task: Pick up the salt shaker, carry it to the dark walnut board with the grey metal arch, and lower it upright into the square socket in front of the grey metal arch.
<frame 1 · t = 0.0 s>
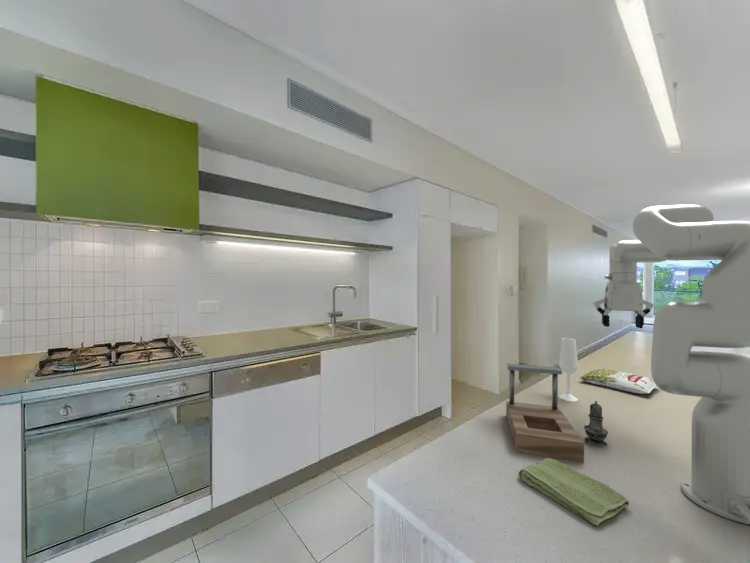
hand: (622, 327, 108), 31 cm above the worktop, tool pointing down, fingers open, 9 cm apart
champagne flute: (568, 398, 124), on the worktop
socket board: (539, 435, 93), on the worktop
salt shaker: (595, 442, 89), on the worktop
grey metal arch: (533, 386, 102), on the socket board, point 12 cm above the worktop
frozen beans: (618, 386, 140), on the worktop
washcloth: (570, 494, 68), on the worktop
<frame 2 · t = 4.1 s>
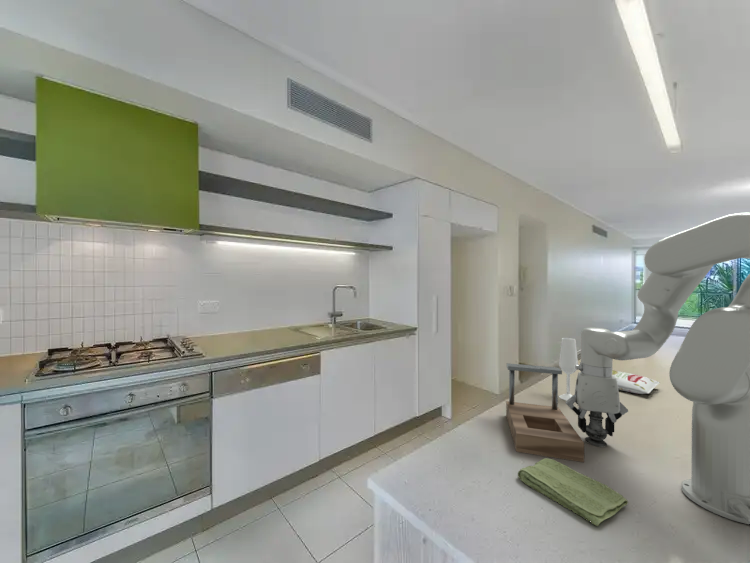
hand: (595, 431, 89), 3 cm above the worktop, tool pointing down, fingers closed on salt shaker, 5 cm apart
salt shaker: (595, 442, 89), on the worktop, touching gripper
everything else where it was.
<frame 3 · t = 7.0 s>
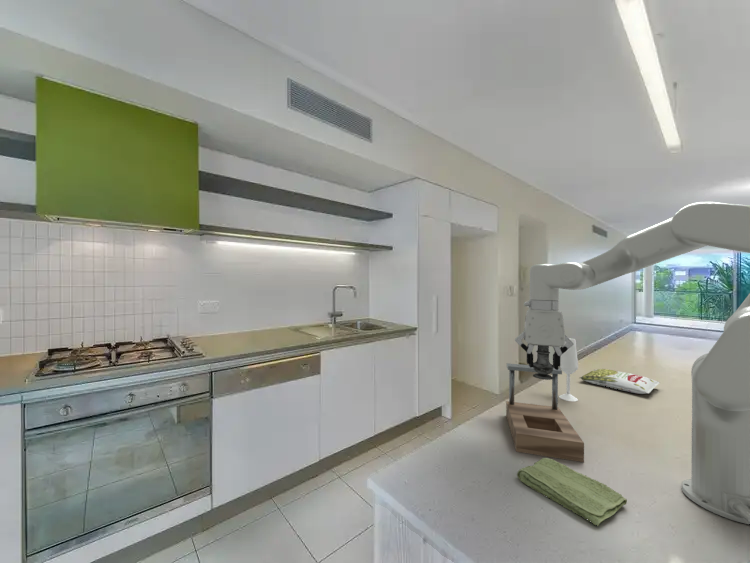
hand: (543, 366, 90), 22 cm above the worktop, tool pointing down, fingers closed on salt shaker, 5 cm apart
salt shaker: (542, 377, 90), point 18 cm above the worktop, touching gripper
everything else where it was.
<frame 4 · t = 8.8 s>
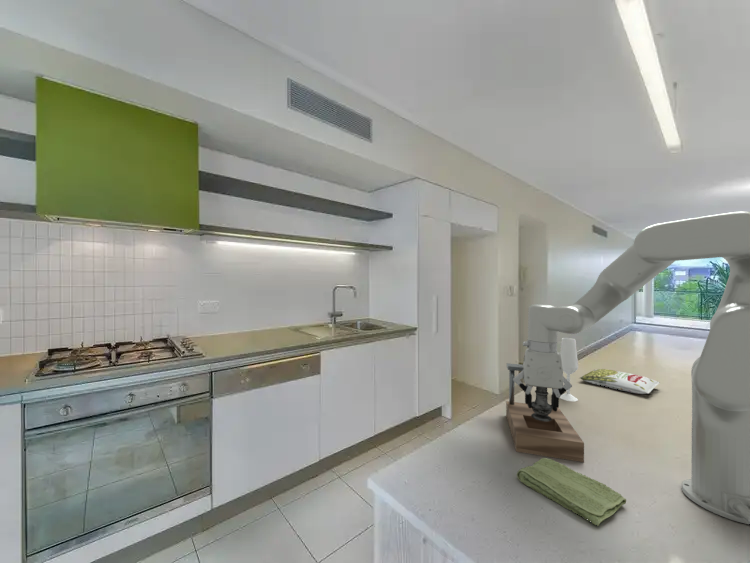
hand: (541, 407, 90), 10 cm above the worktop, tool pointing down, fingers closed on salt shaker, 5 cm apart
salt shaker: (541, 418, 90), point 6 cm above the worktop, touching gripper
everything else where it was.
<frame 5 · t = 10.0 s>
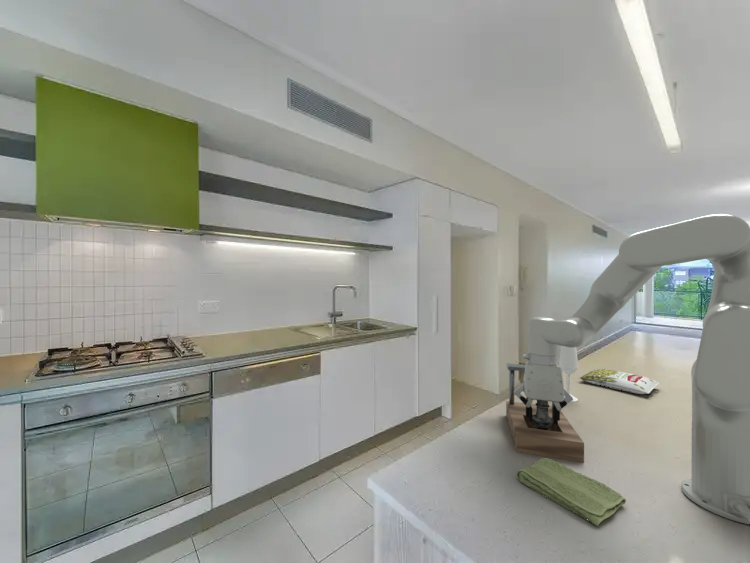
hand: (542, 420, 90), 6 cm above the worktop, tool pointing down, fingers closed on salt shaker, 5 cm apart
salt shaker: (542, 431, 90), point 3 cm above the worktop, touching gripper
everything else where it was.
when the fingers open (6 cm above the worktop, at t = 10.0 s): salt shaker drops 2 cm, resting on socket board.
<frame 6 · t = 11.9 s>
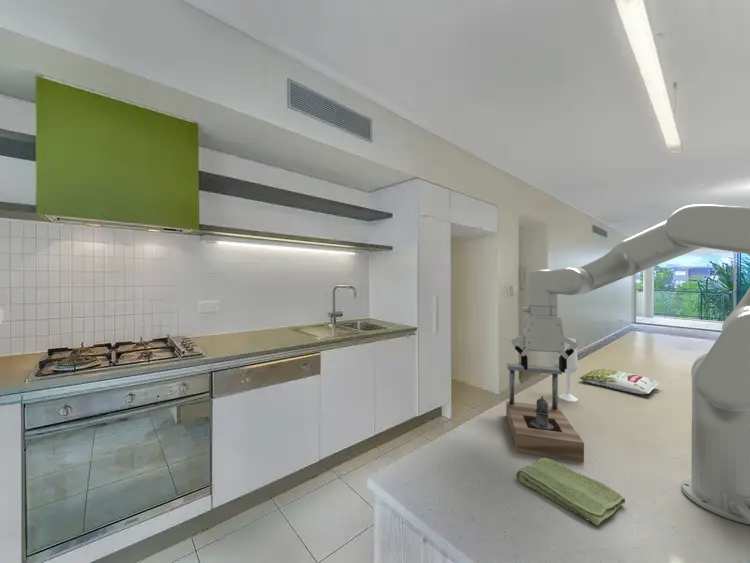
hand: (543, 370, 90), 21 cm above the worktop, tool pointing down, fingers open, 9 cm apart
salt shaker: (541, 437, 90), point 1 cm above the worktop, touching socket board
everything else where it was.
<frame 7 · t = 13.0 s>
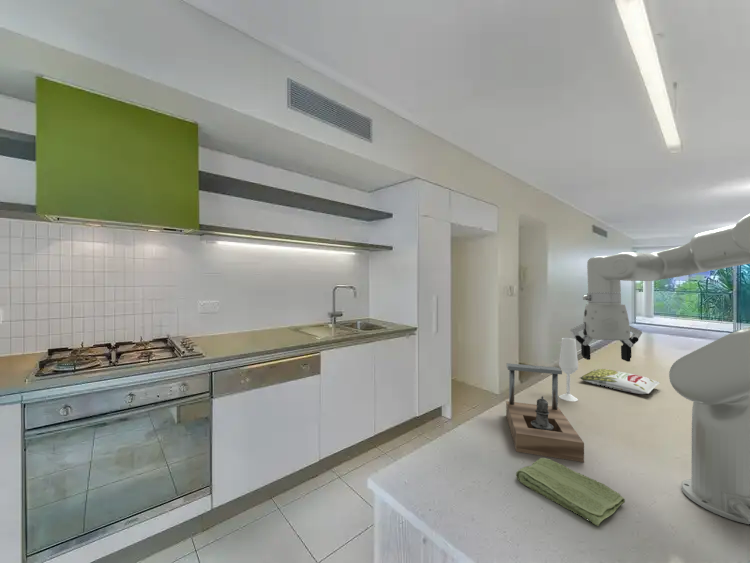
hand: (605, 359, 87), 25 cm above the worktop, tool pointing down, fingers open, 9 cm apart
nothing on the worktop moved.
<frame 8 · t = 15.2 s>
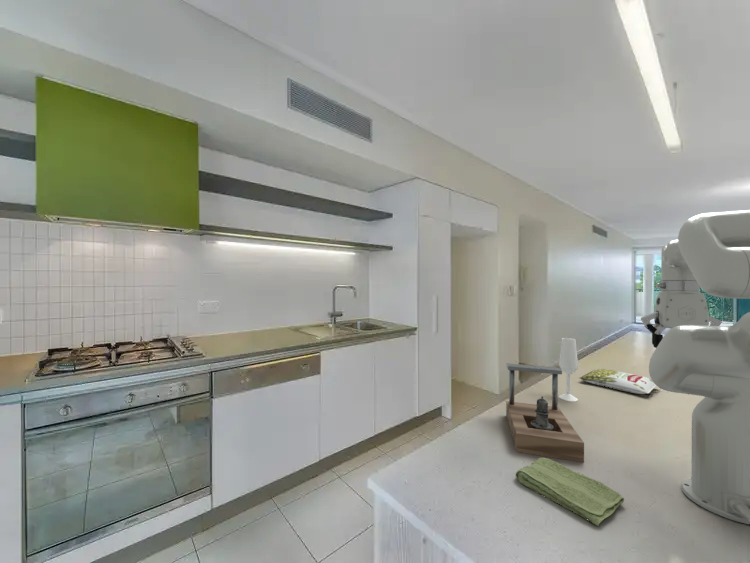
hand: (679, 349, 84), 28 cm above the worktop, tool pointing down, fingers open, 9 cm apart
nothing on the worktop moved.
at the end: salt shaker 0.1 cm from the target spot on the socket board, point 0.8 cm above the socket board's base; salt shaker tilted 0°; the gripper is holding nothing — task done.
